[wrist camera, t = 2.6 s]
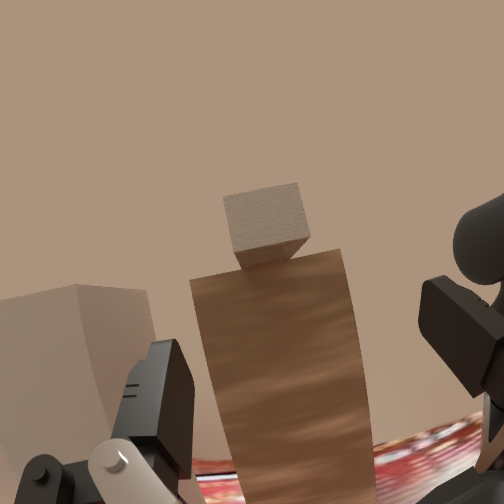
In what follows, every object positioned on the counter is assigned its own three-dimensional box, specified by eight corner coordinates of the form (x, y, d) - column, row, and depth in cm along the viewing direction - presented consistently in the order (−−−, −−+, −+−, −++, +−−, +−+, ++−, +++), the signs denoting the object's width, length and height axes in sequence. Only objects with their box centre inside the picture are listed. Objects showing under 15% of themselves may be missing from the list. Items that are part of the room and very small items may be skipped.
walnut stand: (261, 494, 34) (211, 285, 38) (348, 474, 34) (312, 264, 38) (263, 551, 21) (189, 280, 25) (376, 524, 21) (339, 248, 26)
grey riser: (134, 543, 22) (48, 308, 27) (225, 547, 22) (146, 290, 27) (104, 599, 10) (-35, 308, 15) (216, 616, 10) (75, 284, 15)
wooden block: (246, 278, 38) (241, 254, 39) (277, 271, 38) (272, 248, 39) (233, 252, 16) (222, 196, 16) (310, 236, 16) (296, 182, 16)
